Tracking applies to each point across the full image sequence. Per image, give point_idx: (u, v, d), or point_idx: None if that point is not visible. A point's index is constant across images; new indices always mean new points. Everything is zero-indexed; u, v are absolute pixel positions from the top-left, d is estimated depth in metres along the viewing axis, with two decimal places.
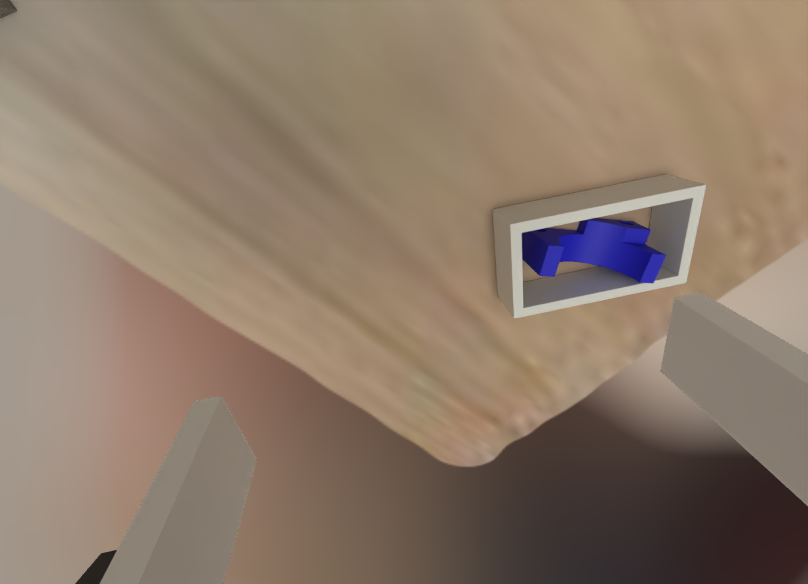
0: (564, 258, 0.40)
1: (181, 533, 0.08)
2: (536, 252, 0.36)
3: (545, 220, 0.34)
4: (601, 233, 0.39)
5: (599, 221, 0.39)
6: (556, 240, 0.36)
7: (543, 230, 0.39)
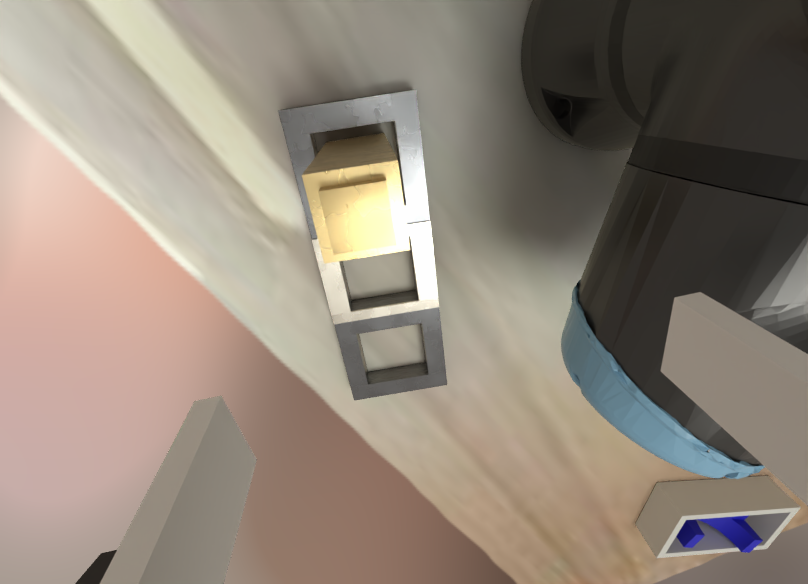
0: None
1: (181, 532, 0.08)
2: None
3: (703, 515, 0.52)
4: None
5: None
6: (696, 523, 0.54)
7: None
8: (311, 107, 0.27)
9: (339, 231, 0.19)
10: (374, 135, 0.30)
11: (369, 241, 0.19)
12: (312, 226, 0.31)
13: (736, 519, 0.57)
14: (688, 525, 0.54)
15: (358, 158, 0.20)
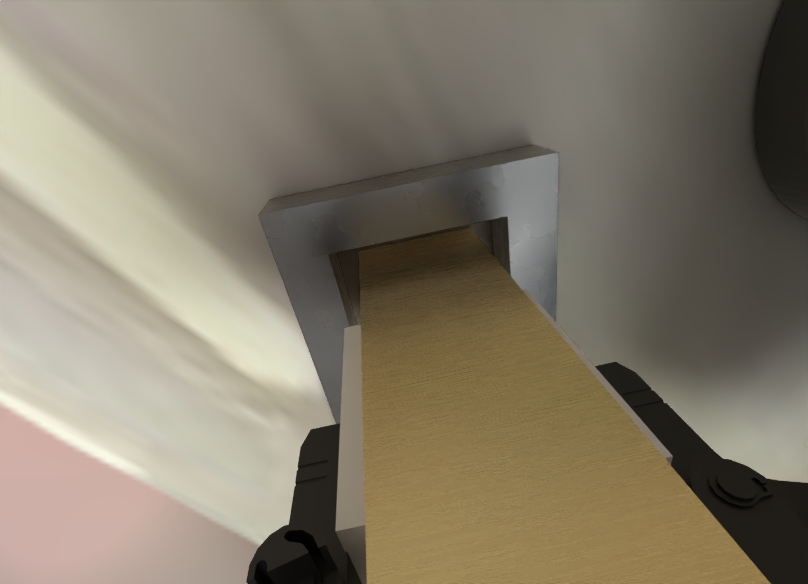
0: None
1: None
2: None
3: None
4: None
5: None
6: None
7: None
8: (330, 203, 0.12)
9: None
10: (456, 238, 0.15)
11: None
12: (337, 406, 0.16)
13: None
14: None
15: (554, 514, 0.05)
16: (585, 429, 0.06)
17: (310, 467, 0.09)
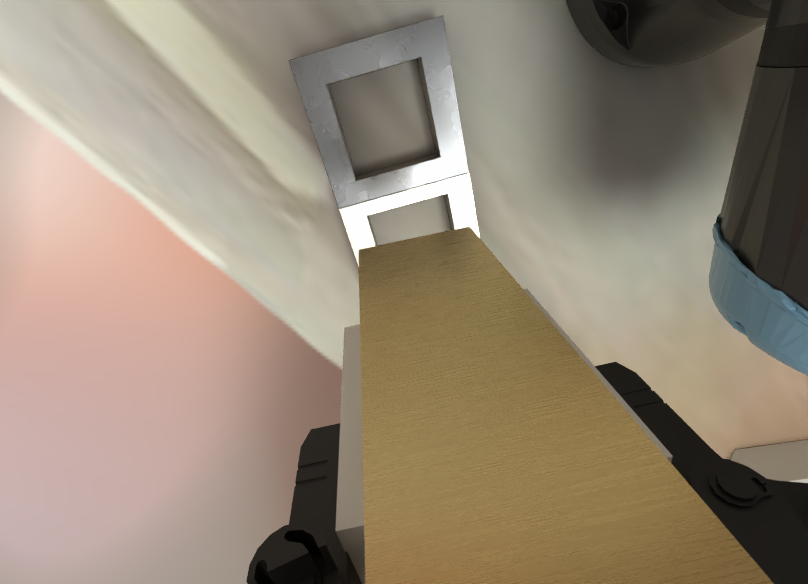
0: None
1: None
2: None
3: (794, 481, 0.46)
4: None
5: None
6: None
7: None
8: (325, 52, 0.24)
9: None
10: (455, 237, 0.15)
11: None
12: (338, 193, 0.28)
13: None
14: None
15: (553, 512, 0.05)
16: (585, 427, 0.06)
17: (310, 467, 0.09)
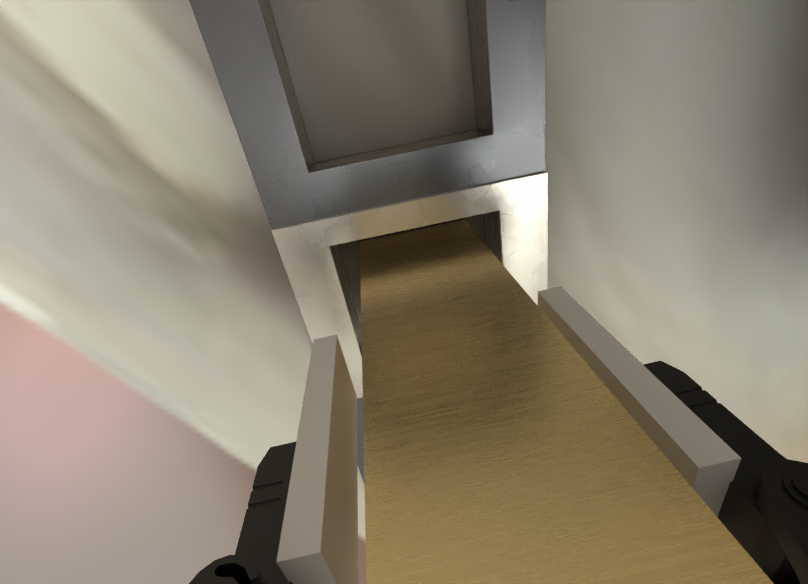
0: None
1: (337, 430, 0.09)
2: None
3: None
4: None
5: None
6: None
7: None
8: None
9: None
10: (451, 229, 0.16)
11: None
12: (270, 197, 0.13)
13: None
14: None
15: (526, 453, 0.06)
16: (558, 387, 0.07)
17: (265, 488, 0.08)
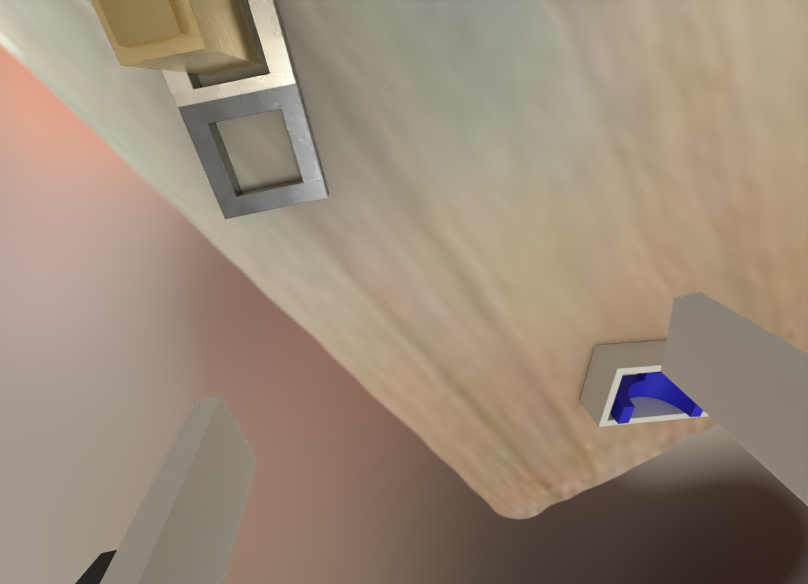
0: (630, 396, 0.55)
1: (181, 533, 0.08)
2: (613, 405, 0.52)
3: (640, 368, 0.48)
4: (657, 379, 0.54)
5: None
6: (627, 397, 0.51)
7: None
8: None
9: (117, 16, 0.19)
10: None
11: (151, 28, 0.19)
12: None
13: None
14: (617, 400, 0.51)
15: None
16: None
17: None
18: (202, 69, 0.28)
